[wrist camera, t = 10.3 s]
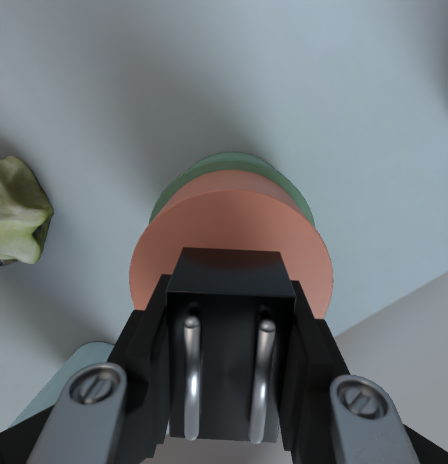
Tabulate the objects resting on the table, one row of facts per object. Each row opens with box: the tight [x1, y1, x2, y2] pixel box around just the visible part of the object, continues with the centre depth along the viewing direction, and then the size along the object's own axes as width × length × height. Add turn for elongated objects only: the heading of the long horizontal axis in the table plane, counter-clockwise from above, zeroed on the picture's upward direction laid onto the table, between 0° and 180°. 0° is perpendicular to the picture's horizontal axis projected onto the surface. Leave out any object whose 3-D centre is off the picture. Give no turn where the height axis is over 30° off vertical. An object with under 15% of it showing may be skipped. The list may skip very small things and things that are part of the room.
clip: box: [166, 247, 297, 444], centre depth 9 cm, size 3×5×3 cm, turn 178°
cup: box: [8, 342, 114, 429], centre depth 23 cm, size 8×8×10 cm
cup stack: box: [129, 152, 333, 319], centre depth 18 cm, size 9×9×11 cm
